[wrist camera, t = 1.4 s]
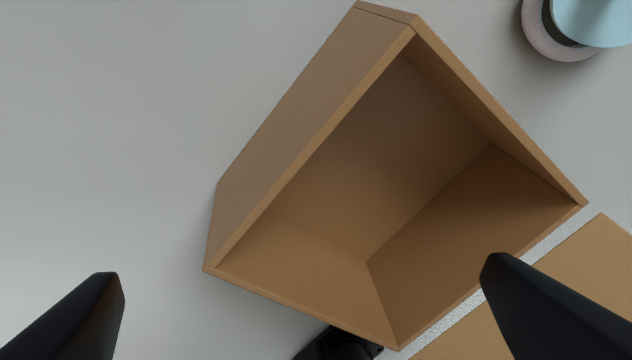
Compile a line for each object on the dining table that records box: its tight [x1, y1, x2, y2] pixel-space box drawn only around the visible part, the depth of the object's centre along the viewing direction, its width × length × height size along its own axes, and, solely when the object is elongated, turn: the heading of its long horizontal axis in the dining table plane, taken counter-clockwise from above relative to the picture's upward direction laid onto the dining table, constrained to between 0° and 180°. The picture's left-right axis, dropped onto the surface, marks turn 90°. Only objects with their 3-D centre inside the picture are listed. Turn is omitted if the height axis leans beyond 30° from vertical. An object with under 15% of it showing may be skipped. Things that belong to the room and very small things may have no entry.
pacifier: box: [521, 0, 632, 62], centre depth 16 cm, size 7×6×6 cm
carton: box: [202, 0, 589, 352], centre depth 19 cm, size 13×13×7 cm
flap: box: [408, 212, 632, 360], centre depth 16 cm, size 6×13×1 cm
